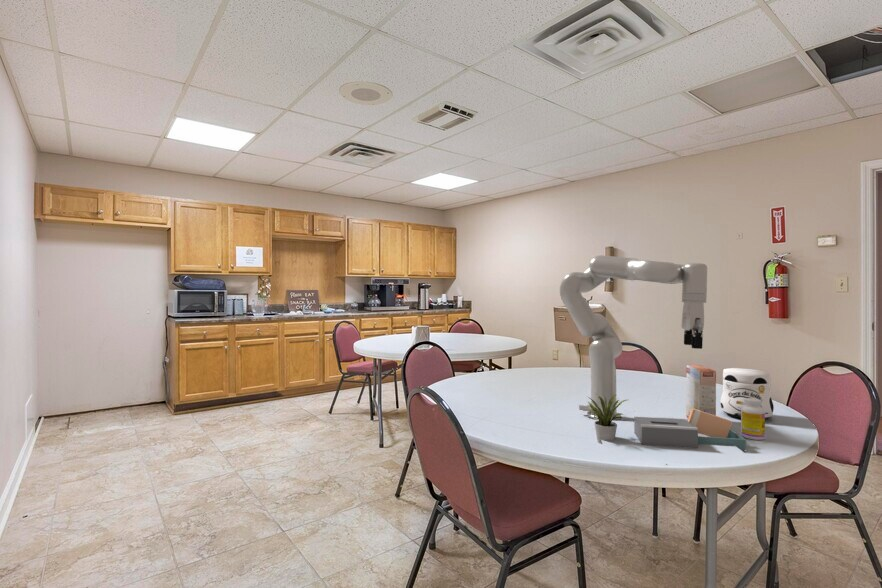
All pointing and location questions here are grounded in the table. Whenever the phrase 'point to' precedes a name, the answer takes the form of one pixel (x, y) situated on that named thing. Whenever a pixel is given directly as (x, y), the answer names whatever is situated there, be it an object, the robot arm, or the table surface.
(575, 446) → the table surface
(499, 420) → the table surface
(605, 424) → the house plant
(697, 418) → the peach slab cream top
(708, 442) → the tray
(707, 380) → the cracker box
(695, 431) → the dispenser
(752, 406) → the supplement bottle
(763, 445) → the table surface
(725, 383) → the milk container
